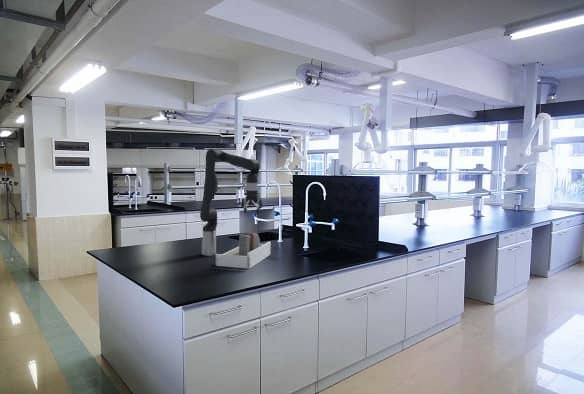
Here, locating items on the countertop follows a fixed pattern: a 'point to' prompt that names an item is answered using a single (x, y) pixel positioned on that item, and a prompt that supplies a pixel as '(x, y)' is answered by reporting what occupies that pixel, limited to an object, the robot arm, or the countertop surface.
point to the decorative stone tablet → (248, 243)
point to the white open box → (243, 257)
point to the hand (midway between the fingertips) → (251, 214)
